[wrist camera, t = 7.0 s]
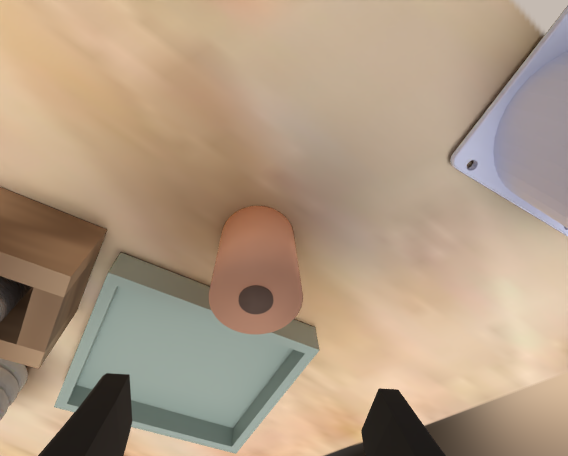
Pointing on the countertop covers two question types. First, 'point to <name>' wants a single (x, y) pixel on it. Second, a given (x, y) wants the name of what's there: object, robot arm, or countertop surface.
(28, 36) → the countertop surface
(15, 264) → the walnut block
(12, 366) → the light bulb
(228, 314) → the terracotta round
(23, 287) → the cylinder
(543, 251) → the countertop surface
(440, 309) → the countertop surface
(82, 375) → the tray
